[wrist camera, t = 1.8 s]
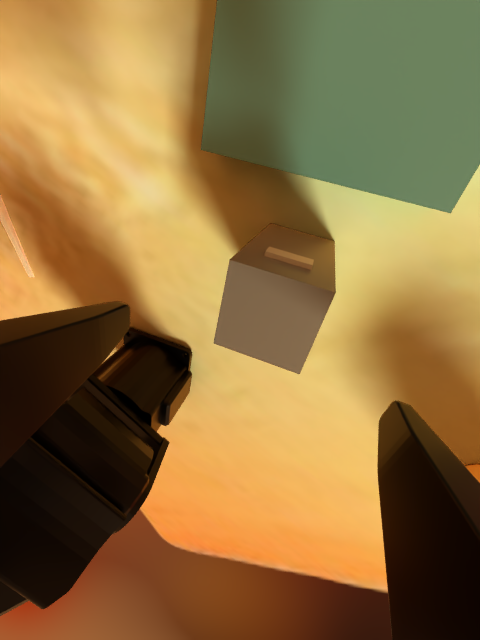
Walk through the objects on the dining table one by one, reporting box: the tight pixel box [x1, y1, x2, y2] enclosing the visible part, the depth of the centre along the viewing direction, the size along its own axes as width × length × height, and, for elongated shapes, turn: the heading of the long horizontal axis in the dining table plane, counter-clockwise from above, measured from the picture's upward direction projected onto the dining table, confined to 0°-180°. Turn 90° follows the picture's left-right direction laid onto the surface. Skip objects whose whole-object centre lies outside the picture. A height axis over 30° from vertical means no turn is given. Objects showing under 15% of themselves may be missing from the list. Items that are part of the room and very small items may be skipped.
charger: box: [214, 223, 336, 374], centre depth 14 cm, size 4×4×8 cm
